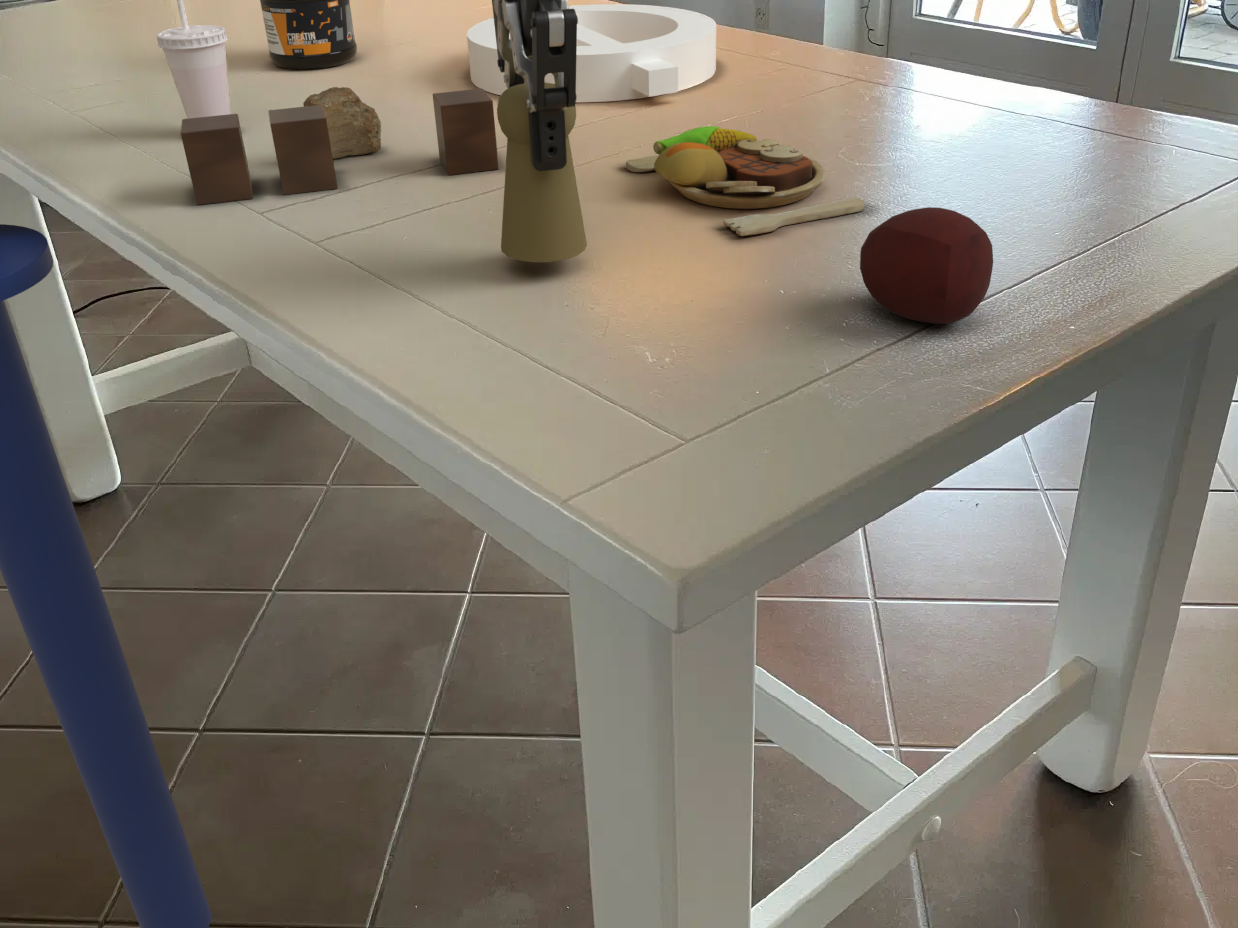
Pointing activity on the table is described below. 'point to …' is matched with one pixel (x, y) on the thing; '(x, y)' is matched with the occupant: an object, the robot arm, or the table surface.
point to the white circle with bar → (618, 52)
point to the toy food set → (742, 176)
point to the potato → (928, 265)
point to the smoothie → (198, 66)
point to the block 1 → (216, 159)
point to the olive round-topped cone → (537, 191)
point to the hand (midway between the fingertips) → (539, 155)
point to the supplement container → (309, 32)
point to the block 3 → (465, 131)
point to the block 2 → (303, 149)
